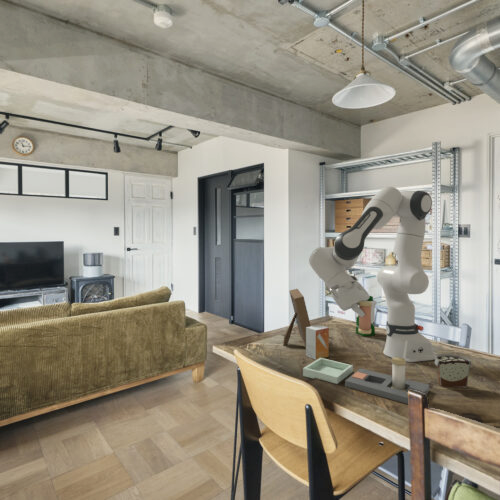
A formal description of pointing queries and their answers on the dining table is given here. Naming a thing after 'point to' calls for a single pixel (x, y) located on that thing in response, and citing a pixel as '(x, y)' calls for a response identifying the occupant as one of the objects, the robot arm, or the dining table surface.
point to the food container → (452, 370)
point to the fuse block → (382, 385)
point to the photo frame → (298, 316)
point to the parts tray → (327, 370)
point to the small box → (317, 341)
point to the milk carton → (371, 319)
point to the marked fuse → (365, 317)
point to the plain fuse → (398, 373)
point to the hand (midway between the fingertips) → (366, 314)
